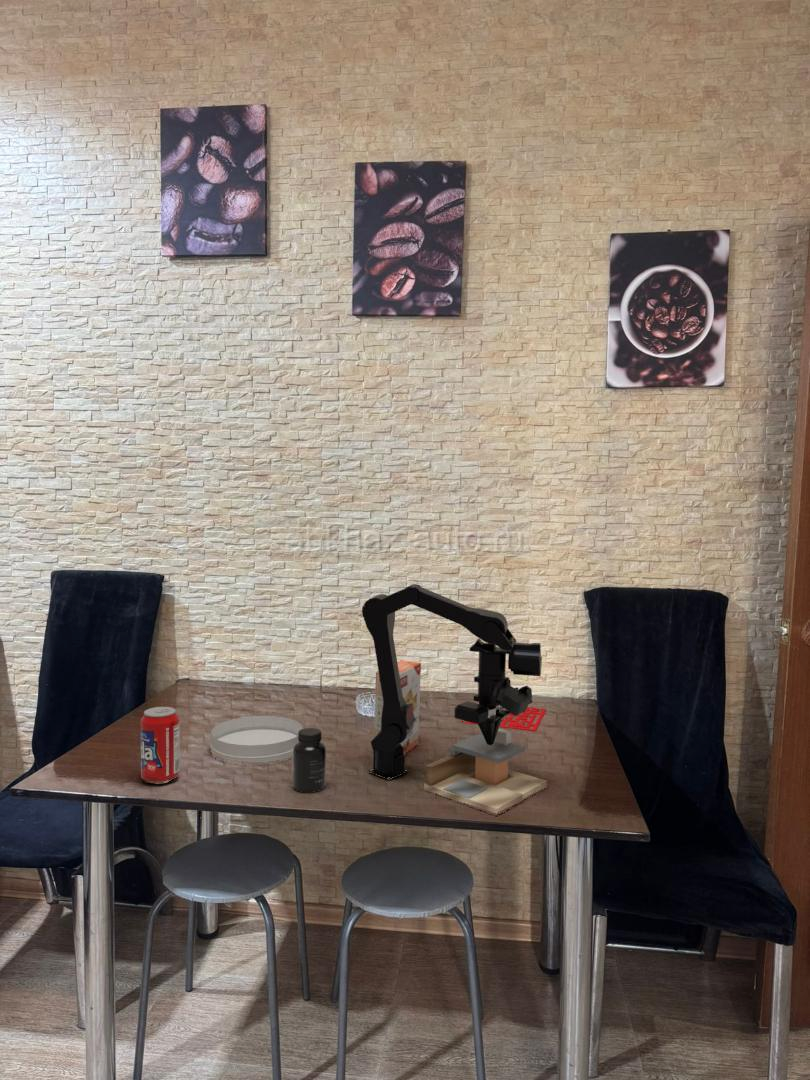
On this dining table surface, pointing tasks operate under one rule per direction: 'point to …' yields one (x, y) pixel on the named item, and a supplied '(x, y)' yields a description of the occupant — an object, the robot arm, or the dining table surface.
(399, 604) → the robot arm
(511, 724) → the maze puzzle
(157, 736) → the soda can
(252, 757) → the dish
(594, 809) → the dining table surface
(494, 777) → the block
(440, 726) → the dining table surface
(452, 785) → the puzzle board
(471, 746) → the sliding cover
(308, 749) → the supplement bottle
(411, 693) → the cracker box
